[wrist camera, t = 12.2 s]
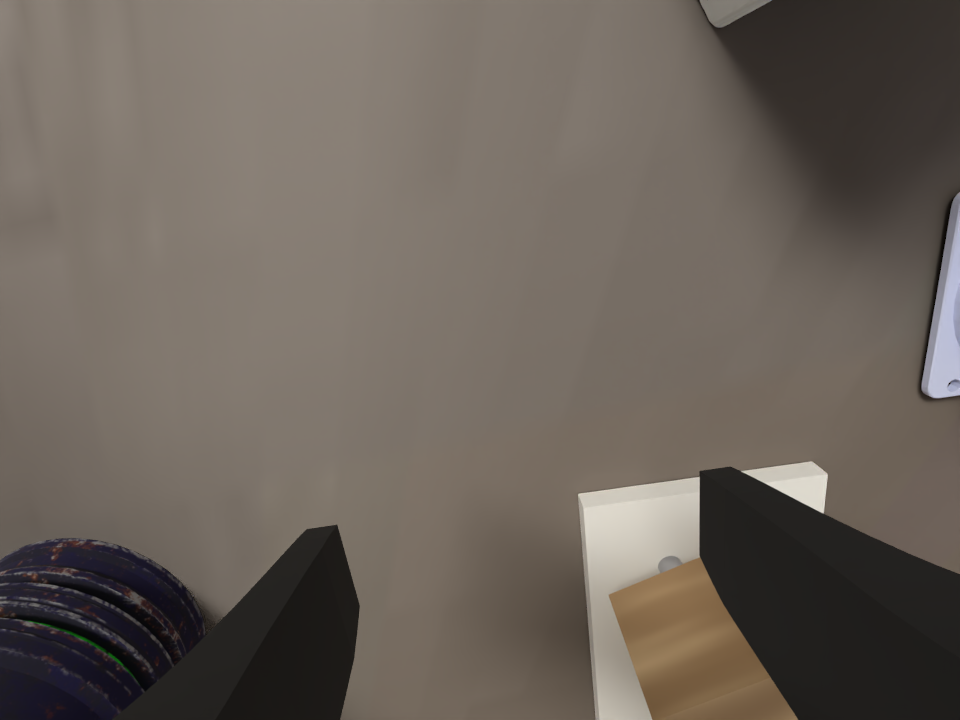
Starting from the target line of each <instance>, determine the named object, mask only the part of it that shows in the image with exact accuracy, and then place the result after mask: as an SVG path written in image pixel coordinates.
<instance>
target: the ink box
mask: <svg viewBox="0 0 960 720" xmlns="http://www.w3.org/2000/svg"><path fill="white" fill-rule="evenodd" d="M699 1H700V3H701V5H702V7H703V9H704V10H705V13H706V15H707V17H708V20H709V21H710V22H711V23H712V24H713V25H714V26H715V27H718V28H721V27H724V26H726V25H728V24H730V23H732V22H733V21H735V20H737V19H739V18H741V17H742V16H744V15H746V14H748V13H750V12H752V11H754V10H755V9H757V8H759V7H761V6H763V5H764V4H766V3H768V2H770V1H772V0H699Z"/></svg>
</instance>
